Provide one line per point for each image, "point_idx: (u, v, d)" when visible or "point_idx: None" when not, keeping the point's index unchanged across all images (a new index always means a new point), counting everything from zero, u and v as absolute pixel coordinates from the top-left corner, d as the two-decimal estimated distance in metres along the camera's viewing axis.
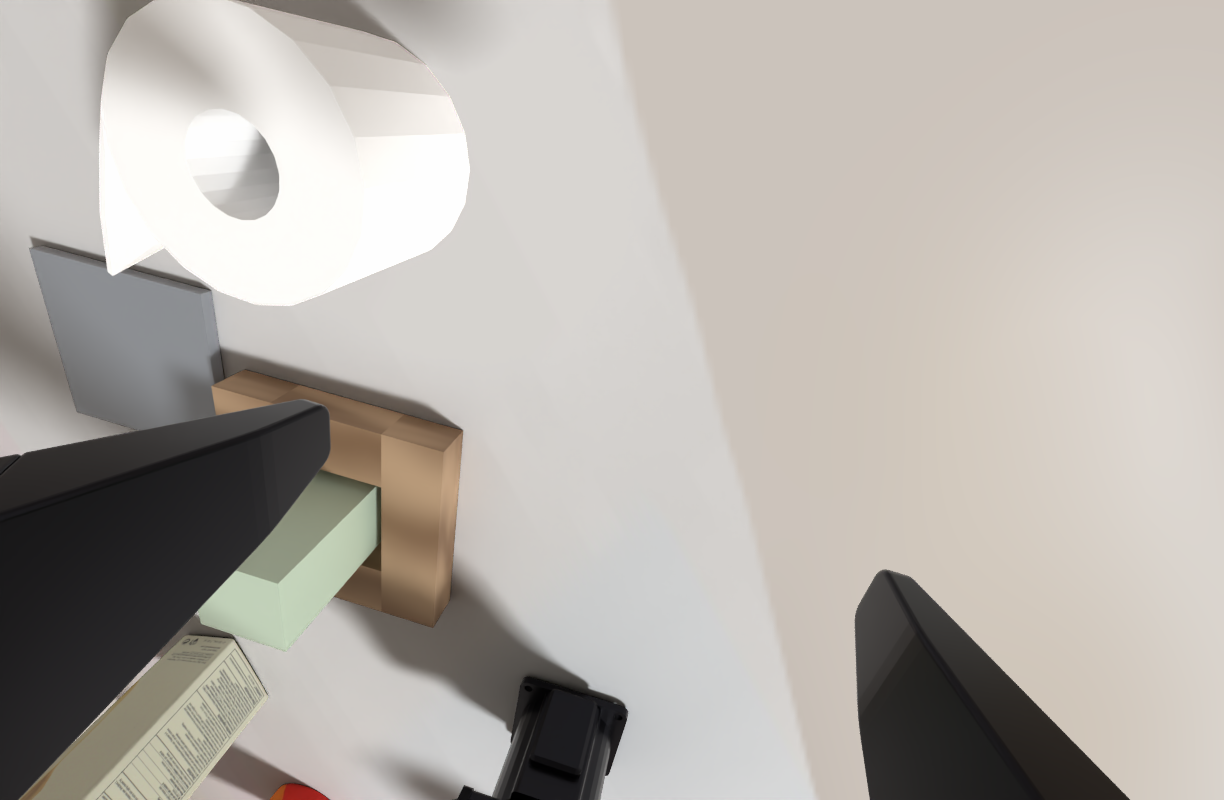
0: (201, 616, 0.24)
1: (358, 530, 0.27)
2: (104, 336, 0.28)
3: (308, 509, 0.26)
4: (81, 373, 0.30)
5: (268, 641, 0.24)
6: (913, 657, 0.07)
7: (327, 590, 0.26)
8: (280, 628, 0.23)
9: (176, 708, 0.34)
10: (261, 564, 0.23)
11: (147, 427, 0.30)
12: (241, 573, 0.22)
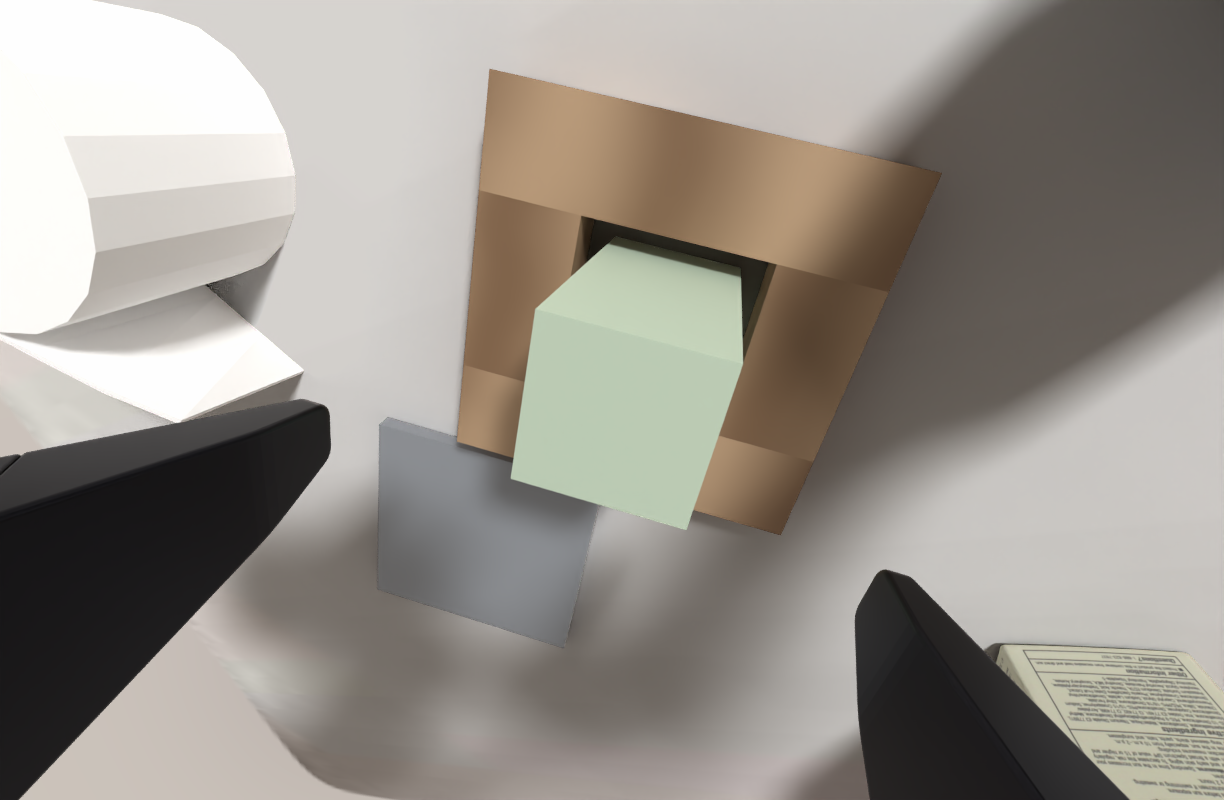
0: (664, 519, 0.12)
1: (653, 268, 0.15)
2: (457, 563, 0.24)
3: None
4: (510, 614, 0.25)
5: (715, 397, 0.11)
6: (913, 657, 0.07)
7: (708, 309, 0.13)
8: (667, 351, 0.11)
9: None
10: None
11: (572, 574, 0.23)
12: (527, 383, 0.11)
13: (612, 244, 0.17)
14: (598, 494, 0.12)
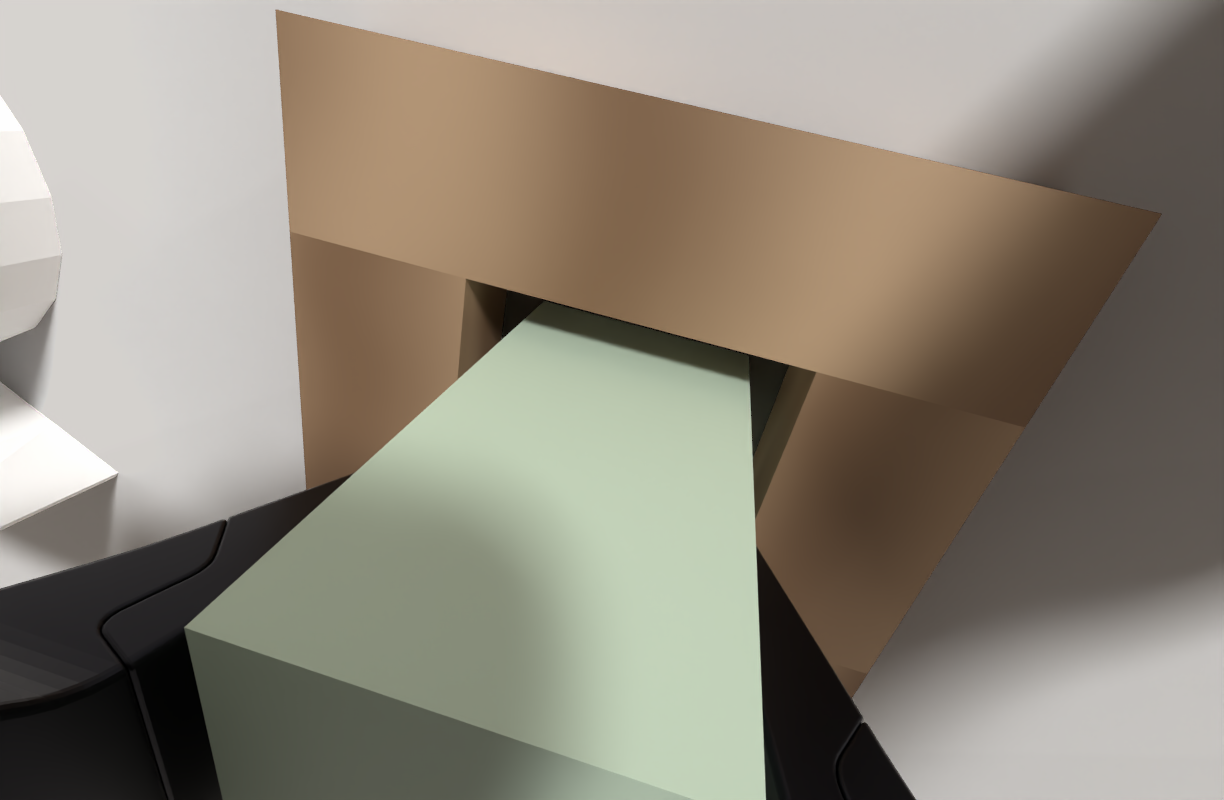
0: None
1: (590, 380, 0.08)
2: None
3: None
4: None
5: None
6: None
7: (683, 512, 0.06)
8: (551, 764, 0.04)
9: None
10: None
11: None
12: (220, 762, 0.05)
13: (530, 322, 0.10)
14: None
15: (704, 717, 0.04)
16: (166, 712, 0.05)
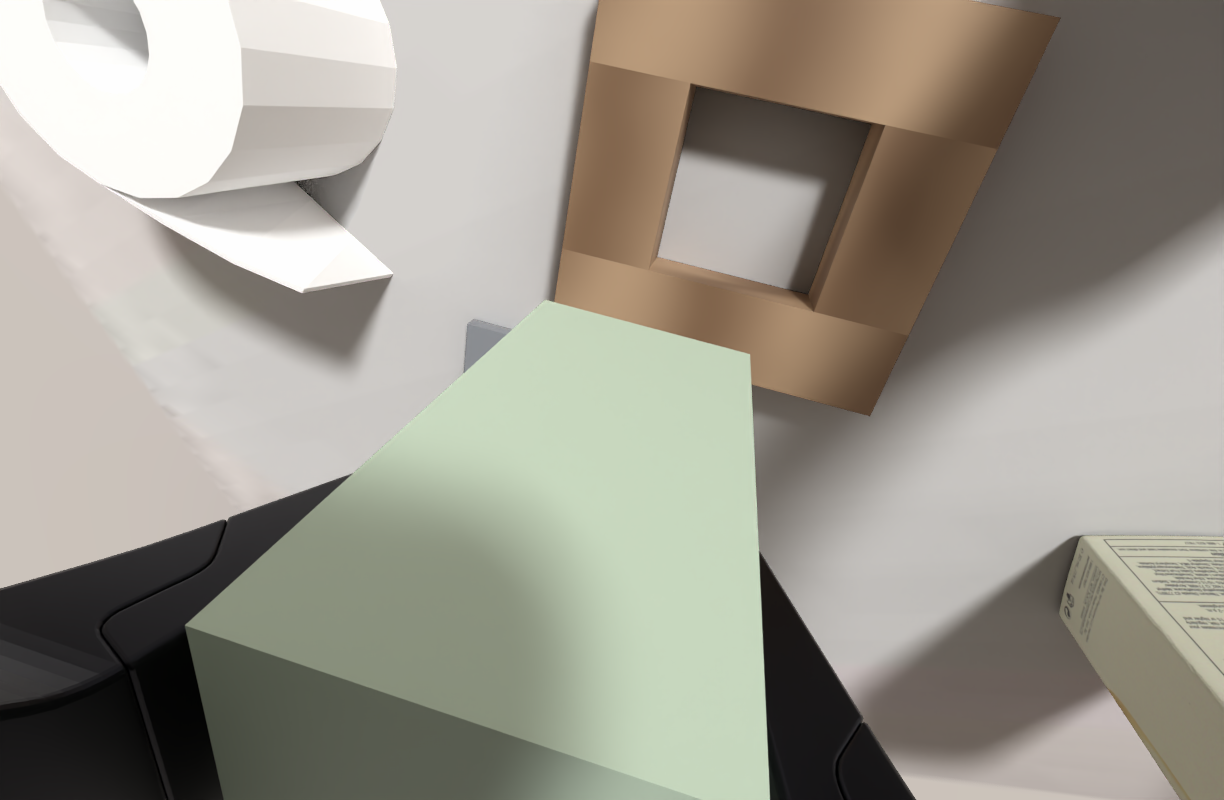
0: None
1: (590, 378, 0.08)
2: None
3: None
4: None
5: None
6: None
7: (685, 511, 0.06)
8: (554, 763, 0.04)
9: (1179, 634, 0.17)
10: None
11: None
12: (222, 759, 0.05)
13: (531, 320, 0.10)
14: None
15: (707, 716, 0.04)
16: (168, 712, 0.05)
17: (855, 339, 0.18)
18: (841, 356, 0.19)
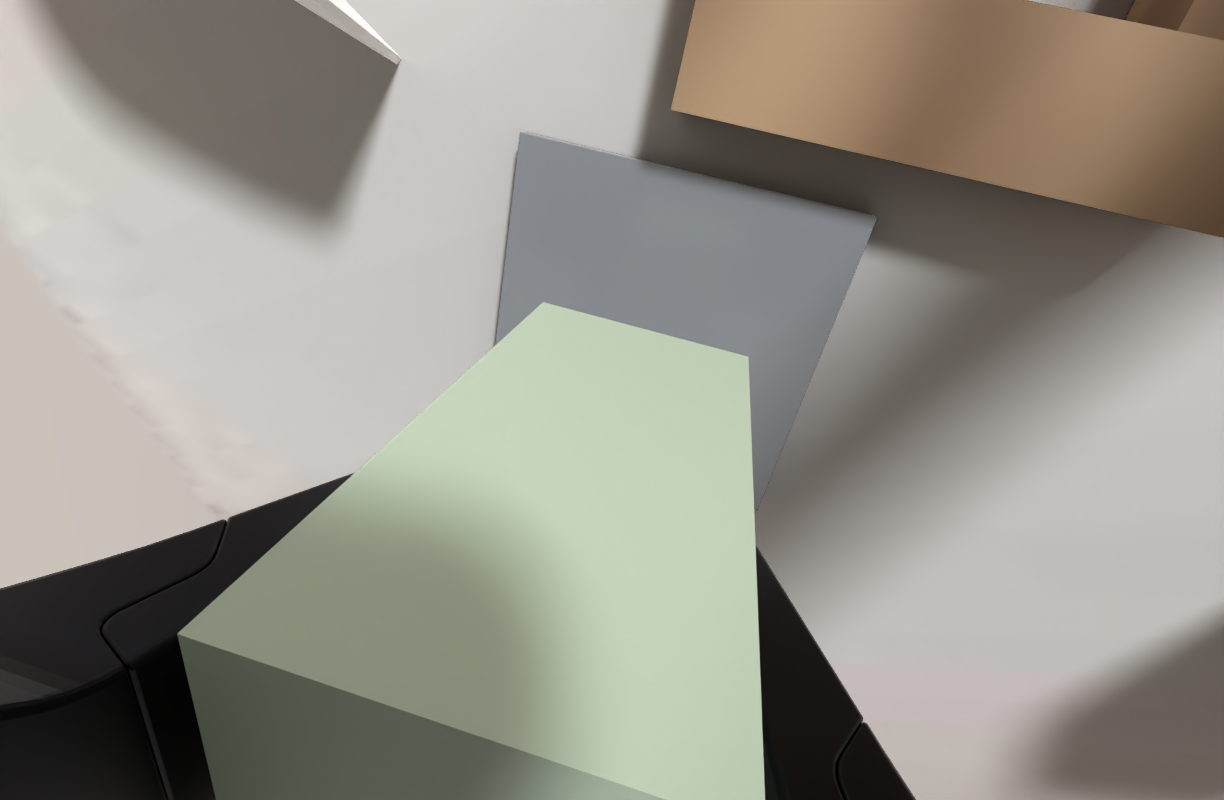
0: None
1: (588, 382, 0.08)
2: None
3: None
4: None
5: None
6: None
7: (683, 514, 0.06)
8: (547, 771, 0.04)
9: None
10: None
11: (794, 383, 0.16)
12: (215, 769, 0.04)
13: (529, 323, 0.10)
14: None
15: (703, 724, 0.04)
16: (168, 712, 0.05)
17: None
18: (1209, 122, 0.10)
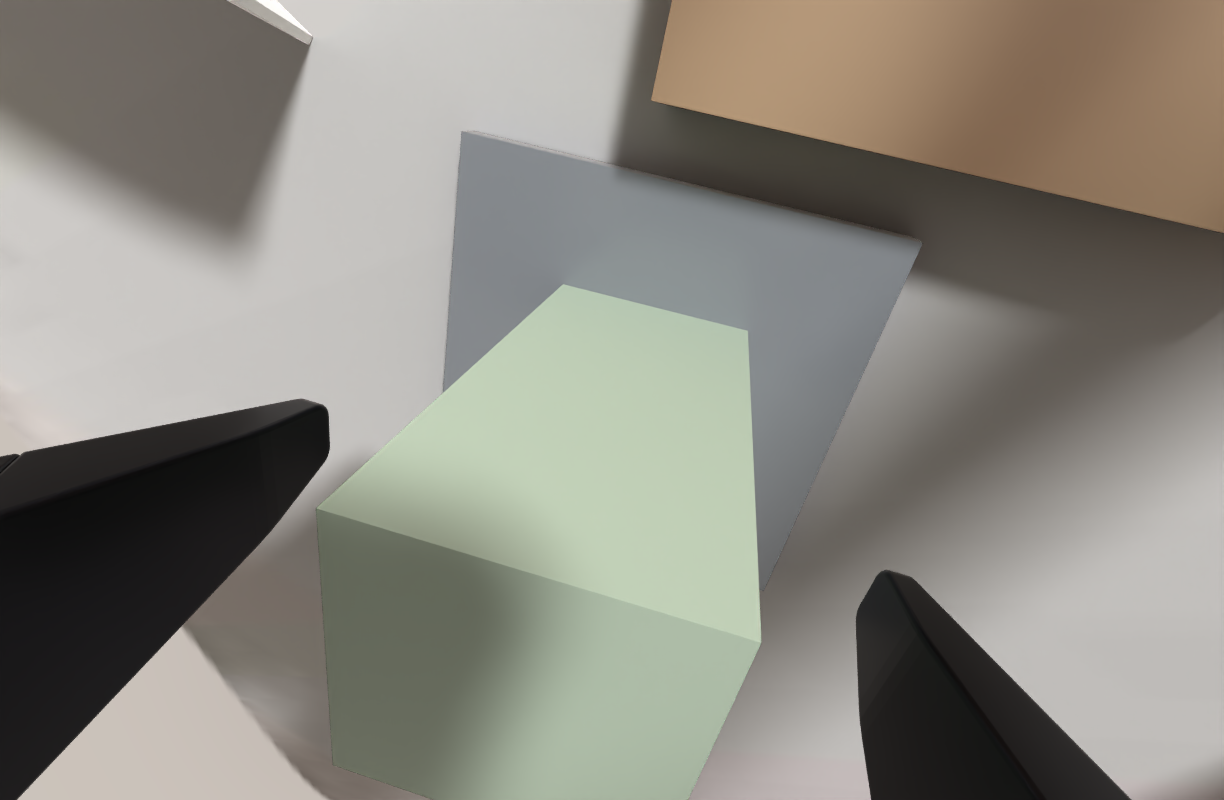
0: None
1: (608, 347, 0.09)
2: None
3: None
4: None
5: (701, 693, 0.05)
6: (915, 657, 0.07)
7: (693, 446, 0.07)
8: (597, 605, 0.05)
9: None
10: None
11: (811, 445, 0.13)
12: (329, 630, 0.06)
13: (553, 301, 0.11)
14: None
15: (713, 578, 0.05)
16: None
17: None
18: None
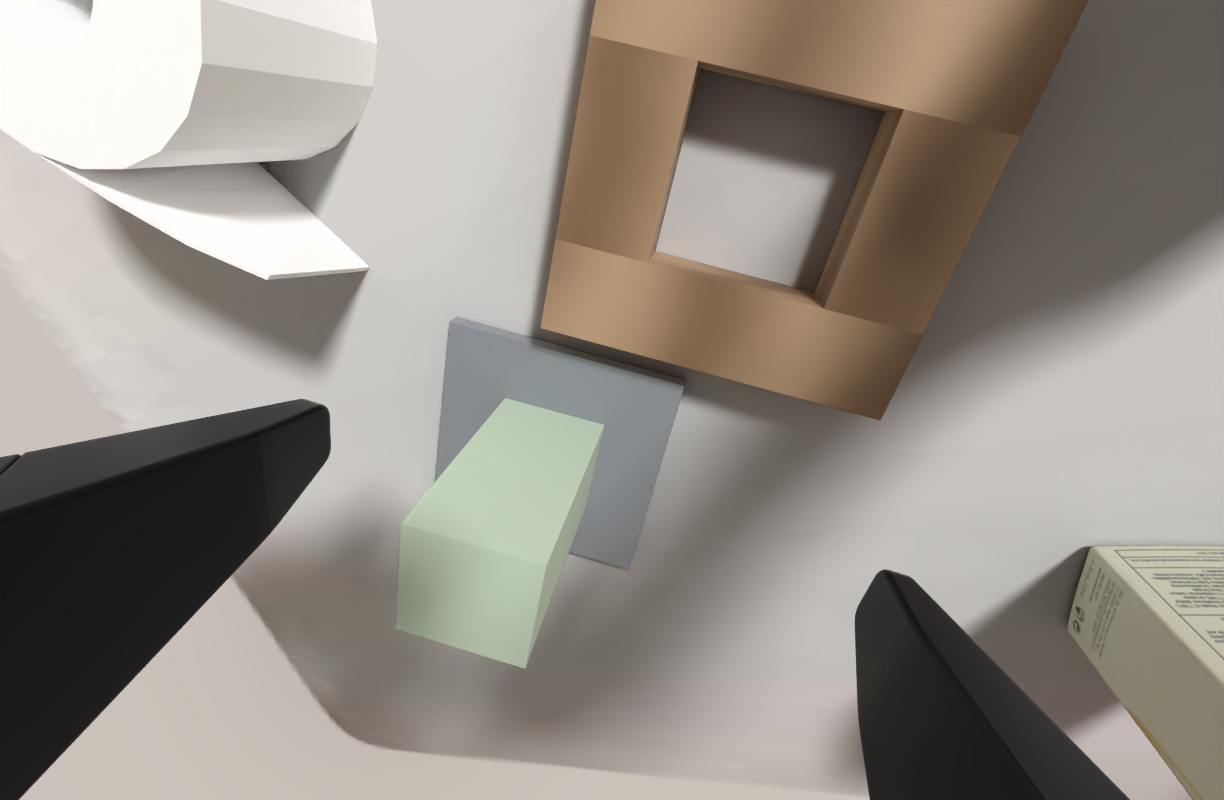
0: (508, 661, 0.16)
1: (521, 442, 0.19)
2: None
3: None
4: None
5: (531, 585, 0.15)
6: (913, 657, 0.07)
7: (547, 496, 0.17)
8: (495, 554, 0.15)
9: (1205, 649, 0.16)
10: None
11: (644, 485, 0.23)
12: (400, 568, 0.16)
13: (497, 412, 0.21)
14: (459, 642, 0.16)
15: (536, 546, 0.15)
16: None
17: (867, 338, 0.17)
18: (851, 356, 0.18)
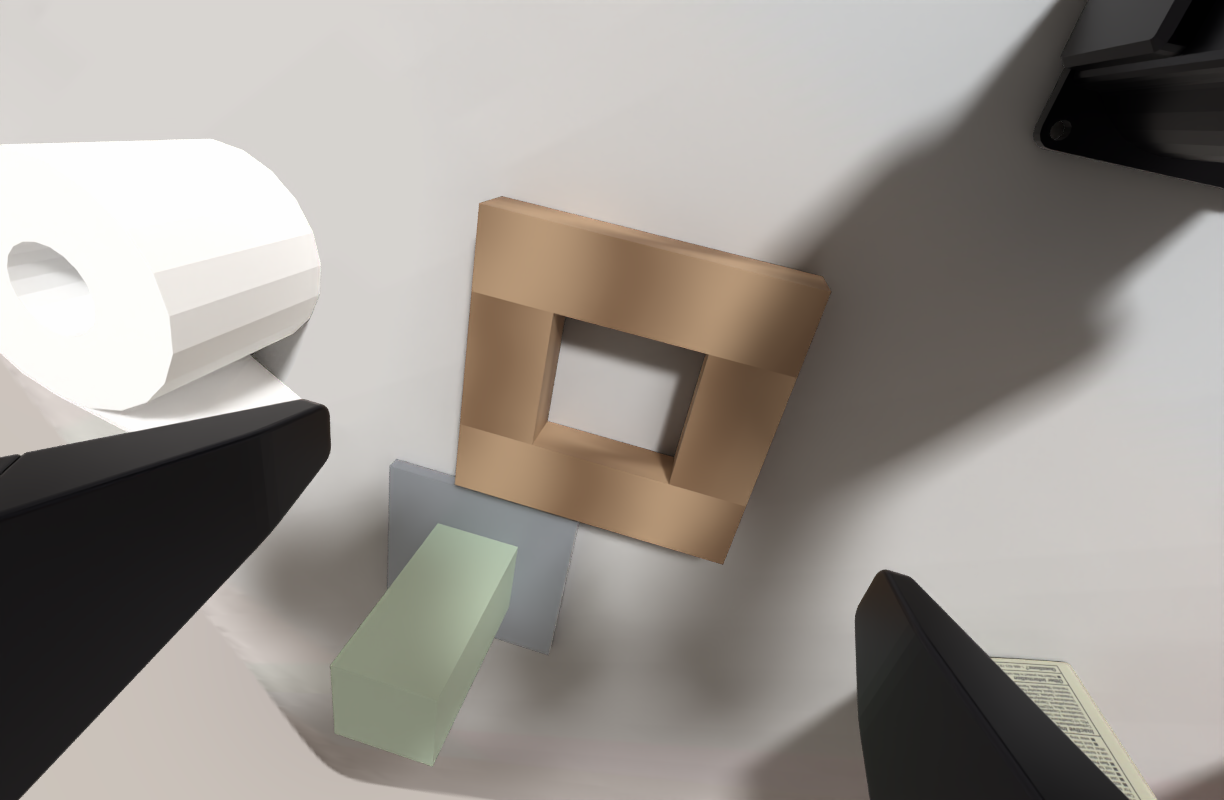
0: (419, 761, 0.21)
1: (442, 573, 0.24)
2: None
3: None
4: (501, 626, 0.29)
5: (428, 712, 0.20)
6: (913, 657, 0.07)
7: (452, 629, 0.22)
8: (400, 690, 0.20)
9: None
10: None
11: (554, 593, 0.27)
12: (333, 693, 0.21)
13: (428, 540, 0.26)
14: (382, 745, 0.21)
15: (433, 682, 0.20)
16: None
17: (704, 506, 0.22)
18: (694, 518, 0.22)
